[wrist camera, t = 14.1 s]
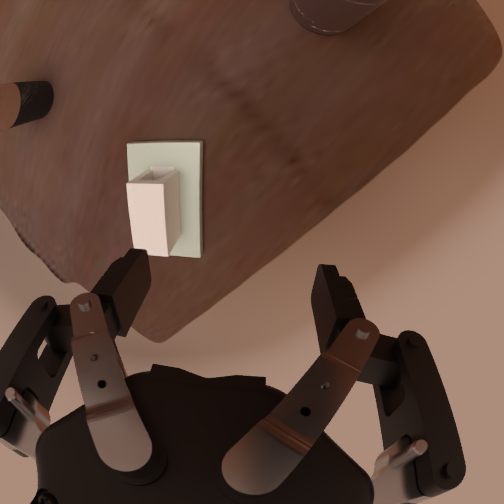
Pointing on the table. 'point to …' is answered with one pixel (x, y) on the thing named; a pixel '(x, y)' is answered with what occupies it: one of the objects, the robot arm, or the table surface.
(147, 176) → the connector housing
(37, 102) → the travel mug
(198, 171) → the board
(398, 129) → the table surface
